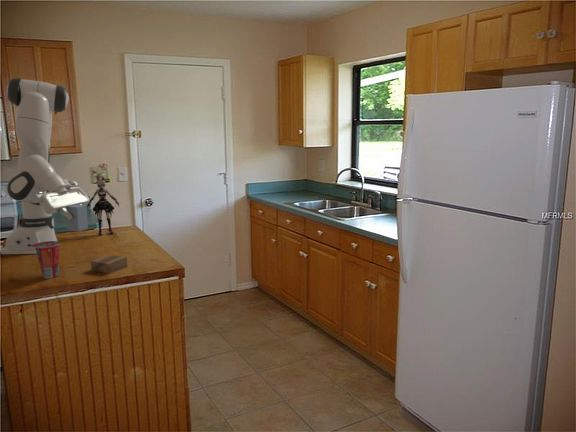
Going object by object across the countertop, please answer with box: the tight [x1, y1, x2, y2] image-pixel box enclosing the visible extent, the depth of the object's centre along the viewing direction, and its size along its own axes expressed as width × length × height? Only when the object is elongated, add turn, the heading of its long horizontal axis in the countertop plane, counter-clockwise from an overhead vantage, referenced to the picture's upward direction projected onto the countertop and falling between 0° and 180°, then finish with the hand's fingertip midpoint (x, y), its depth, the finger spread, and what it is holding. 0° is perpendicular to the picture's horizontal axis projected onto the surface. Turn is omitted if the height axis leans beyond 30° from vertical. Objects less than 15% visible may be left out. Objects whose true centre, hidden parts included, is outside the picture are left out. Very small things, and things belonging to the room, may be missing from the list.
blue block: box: [66, 204, 89, 232], centre depth 180 cm, size 5×5×9 cm
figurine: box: [87, 173, 120, 237], centre depth 230 cm, size 15×6×30 cm, turn 117°
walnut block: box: [90, 254, 128, 275], centre depth 180 cm, size 9×9×4 cm
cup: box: [30, 240, 61, 279], centre depth 171 cm, size 9×8×12 cm
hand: (78, 217), depth 179 cm, fingers closed on blue block, 5 cm apart
